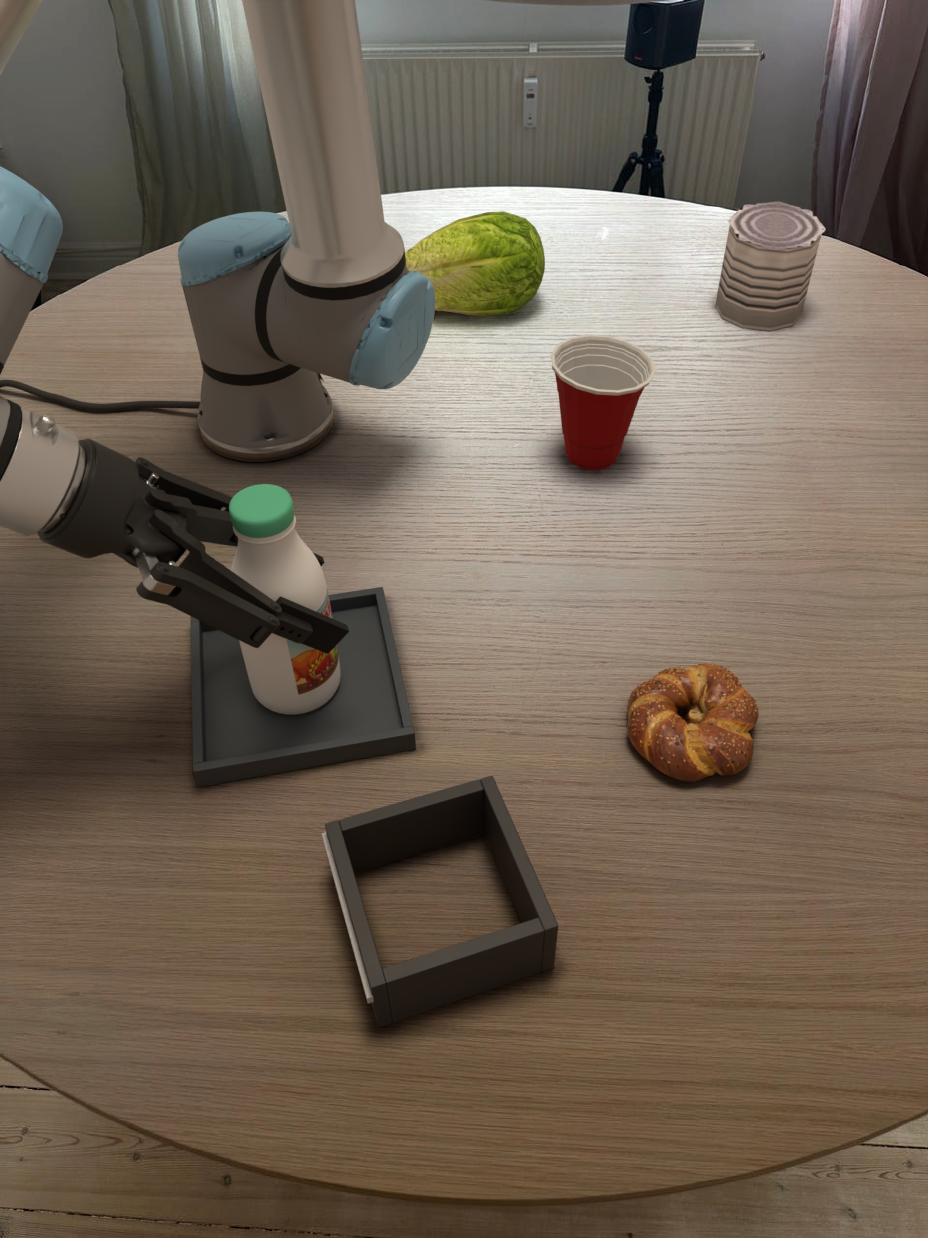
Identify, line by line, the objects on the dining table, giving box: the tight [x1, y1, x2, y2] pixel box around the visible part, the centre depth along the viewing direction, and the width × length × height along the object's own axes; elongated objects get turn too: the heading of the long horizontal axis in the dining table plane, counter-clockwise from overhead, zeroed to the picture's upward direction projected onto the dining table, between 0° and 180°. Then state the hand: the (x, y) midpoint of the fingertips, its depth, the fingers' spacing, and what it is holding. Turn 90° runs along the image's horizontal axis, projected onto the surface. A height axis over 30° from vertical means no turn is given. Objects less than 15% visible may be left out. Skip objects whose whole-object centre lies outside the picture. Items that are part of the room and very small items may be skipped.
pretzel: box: [626, 663, 760, 782], centre depth 80 cm, size 12×11×4 cm
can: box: [714, 200, 827, 332], centre depth 127 cm, size 11×11×12 cm
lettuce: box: [405, 210, 546, 317], centre depth 129 cm, size 13×22×14 cm
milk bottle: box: [229, 483, 341, 715], centre depth 78 cm, size 8×8×20 cm
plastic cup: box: [550, 334, 657, 471], centre depth 104 cm, size 11×11×12 cm
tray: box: [189, 586, 417, 787], centre depth 85 cm, size 18×18×2 cm
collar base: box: [321, 775, 559, 1028], centre depth 68 cm, size 13×13×6 cm
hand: (325, 603), depth 80 cm, fingers open, 8 cm apart
